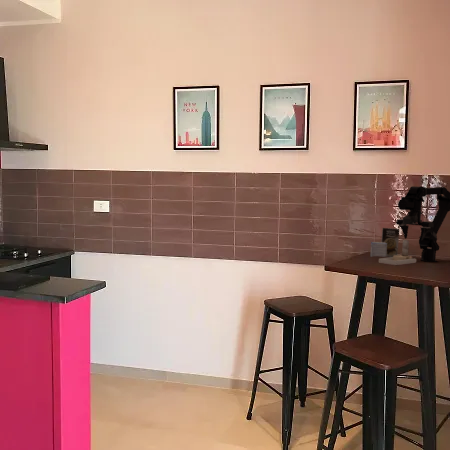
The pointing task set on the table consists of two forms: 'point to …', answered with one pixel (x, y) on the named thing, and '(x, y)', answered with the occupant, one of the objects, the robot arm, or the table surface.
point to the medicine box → (378, 249)
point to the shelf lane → (399, 262)
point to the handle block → (403, 252)
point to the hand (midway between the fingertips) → (413, 239)
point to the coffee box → (390, 240)
